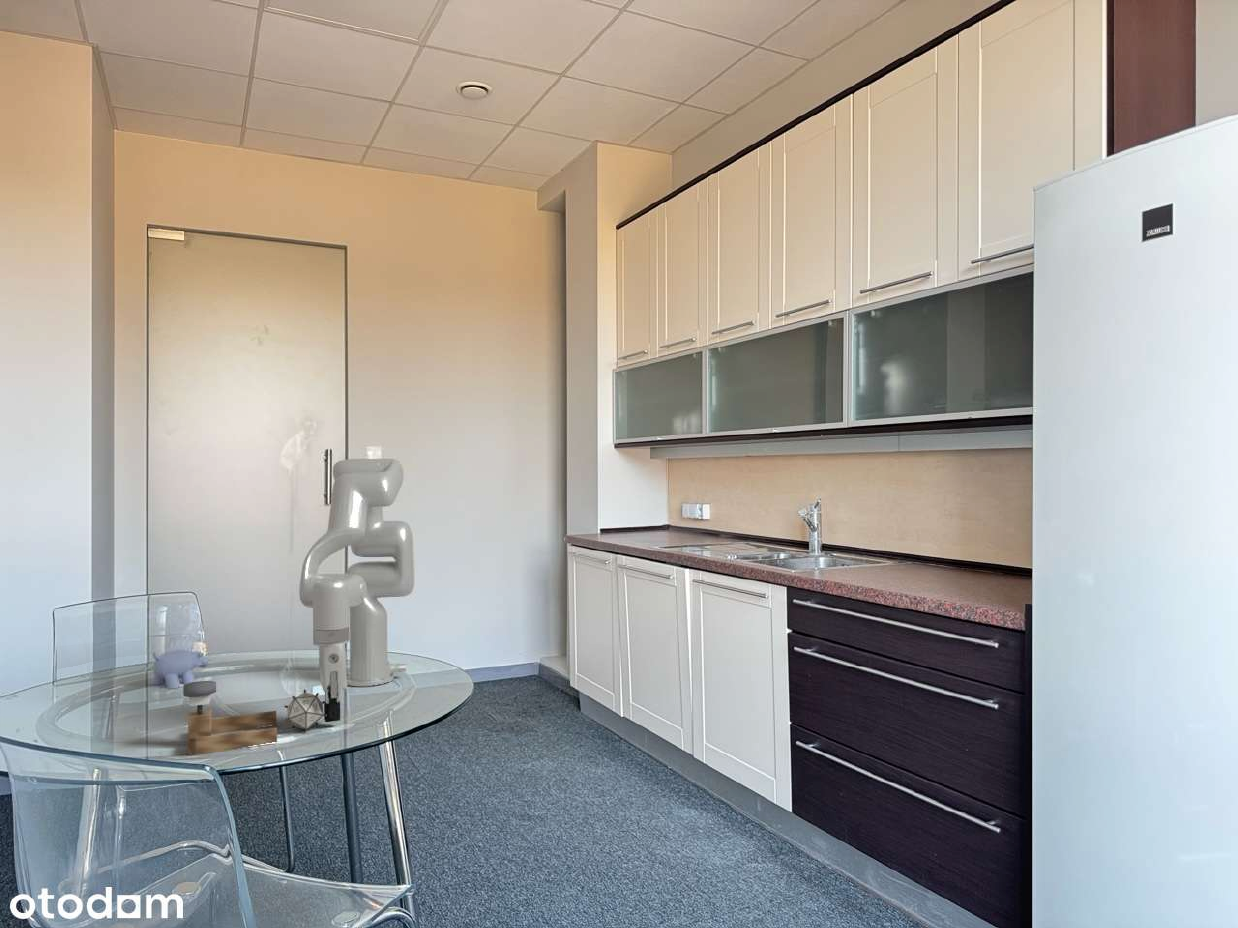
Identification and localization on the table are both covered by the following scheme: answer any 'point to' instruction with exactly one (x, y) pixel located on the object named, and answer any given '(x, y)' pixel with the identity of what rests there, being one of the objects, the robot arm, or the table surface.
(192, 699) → the wheel
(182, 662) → the hippopotamus toy
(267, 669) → the table surface
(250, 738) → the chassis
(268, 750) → the table surface
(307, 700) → the game die
